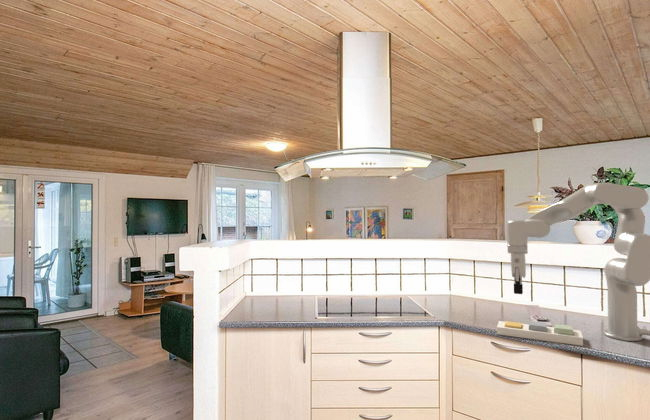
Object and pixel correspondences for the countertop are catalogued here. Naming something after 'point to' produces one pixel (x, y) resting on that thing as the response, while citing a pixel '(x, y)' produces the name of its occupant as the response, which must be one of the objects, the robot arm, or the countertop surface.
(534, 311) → the mobile phone
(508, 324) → the key ochre
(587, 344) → the countertop surface
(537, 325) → the key slate
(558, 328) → the key sage
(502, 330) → the keypad
